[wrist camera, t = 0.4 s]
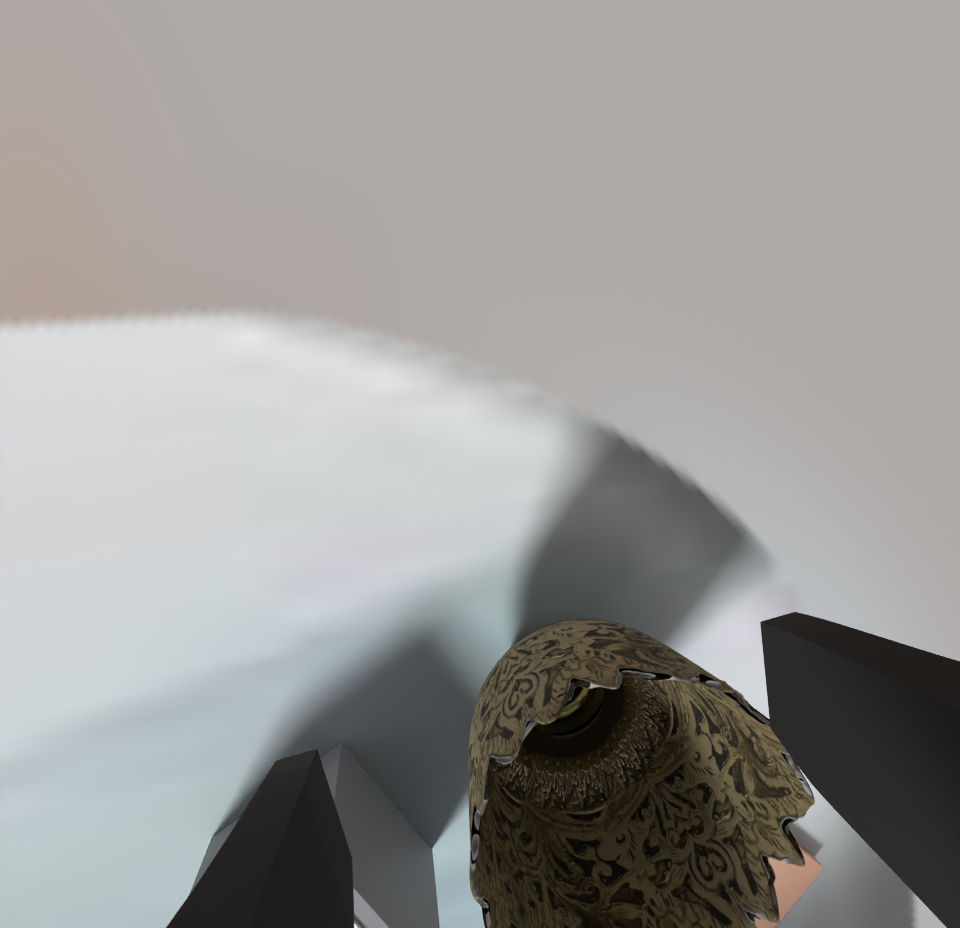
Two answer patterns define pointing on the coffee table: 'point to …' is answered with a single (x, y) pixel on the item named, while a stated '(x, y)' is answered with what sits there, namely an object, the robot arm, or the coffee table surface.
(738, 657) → the coffee table surface
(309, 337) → the coffee table surface
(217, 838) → the letter block
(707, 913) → the cup
